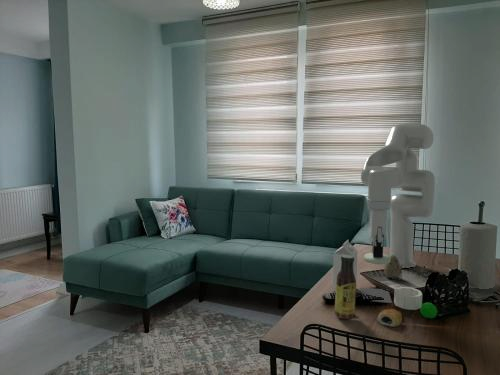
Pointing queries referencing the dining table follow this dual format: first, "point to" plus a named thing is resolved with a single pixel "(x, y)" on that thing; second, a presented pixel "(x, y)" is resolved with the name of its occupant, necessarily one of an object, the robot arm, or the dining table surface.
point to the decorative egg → (392, 268)
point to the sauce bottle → (345, 289)
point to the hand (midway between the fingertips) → (377, 254)
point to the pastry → (390, 317)
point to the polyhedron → (428, 310)
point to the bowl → (408, 298)
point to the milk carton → (344, 250)
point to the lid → (377, 258)
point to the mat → (377, 294)
